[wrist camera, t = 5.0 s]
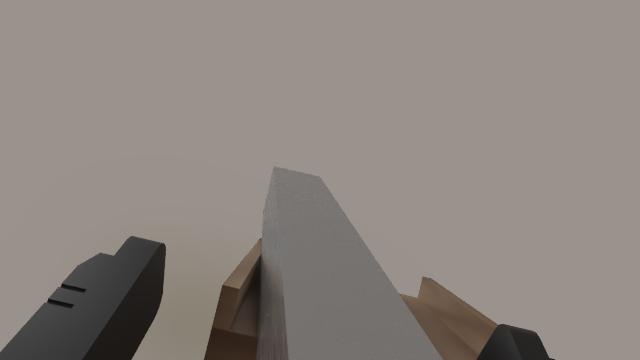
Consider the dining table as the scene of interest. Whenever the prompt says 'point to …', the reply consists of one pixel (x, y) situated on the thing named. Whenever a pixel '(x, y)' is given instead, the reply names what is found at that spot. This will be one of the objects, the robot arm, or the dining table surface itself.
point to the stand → (428, 309)
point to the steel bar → (326, 284)
